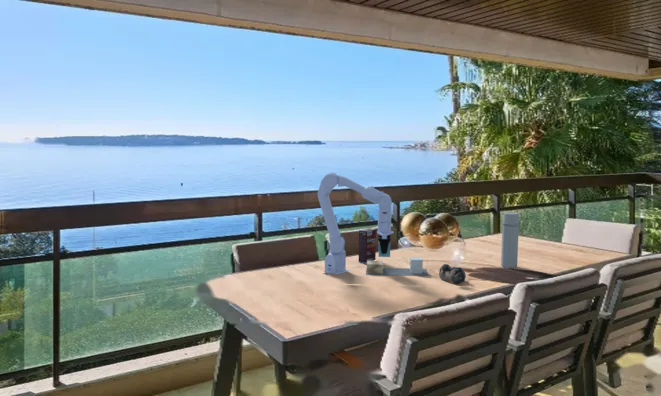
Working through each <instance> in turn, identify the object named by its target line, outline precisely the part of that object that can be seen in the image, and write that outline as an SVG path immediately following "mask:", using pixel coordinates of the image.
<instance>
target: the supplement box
mask: <svg viewBox="0 0 661 396" xmlns="http://www.w3.org/2000/svg"><path fill="white" fill-rule="evenodd" d="M376 242H377V229H375V228H368V227H367V228H365V229H359V230H358V263H361V262H362V263H363V264H367V261H374V260H376V259H377V257H376V255H377V253H376V249H377V245H376V244H377V243H376ZM376 261H377V260H376Z"/></svg>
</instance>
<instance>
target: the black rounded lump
mask: <svg viewBox="0 0 661 396" xmlns="http://www.w3.org/2000/svg"><path fill="white" fill-rule="evenodd" d="M438 275H439V278H440V279H441V280H442V281H445V282H447V283H449V284H453V285H457V284H459V283H463V282H465V281H466V271H464V269H463V268H462V267H459V266H454V267H452V266H450V264H447V263H444V264H442V265H441V266H440V268H439V272H438Z"/></svg>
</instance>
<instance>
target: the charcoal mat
mask: <svg viewBox="0 0 661 396" xmlns="http://www.w3.org/2000/svg"><path fill="white" fill-rule="evenodd" d="M365 275H366V276H389V277H391V276H395V277H396V276H397V277H398V276H400V277H401V276H402V277H407V276H408V277H430V274H429V272H428V270H427V268H422V274H415V273H411V272H410V268H401V267H391V268H390V267H383V274H380V273H367V267H366V269H365Z"/></svg>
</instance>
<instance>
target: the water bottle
mask: <svg viewBox="0 0 661 396" xmlns="http://www.w3.org/2000/svg"><path fill="white" fill-rule="evenodd" d="M502 216H503V218H502V222H501V225H502V229H501V255H500V258H501V260H500V265H501V266H502V267H503V268H504V269H505V268H506V269H516V268H517V267H518V258H519V257H518V255H519V253H518V251H519V234H520V233H519V231H520V227H519V225H520V213H518V212H504V213H503V215H502Z"/></svg>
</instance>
